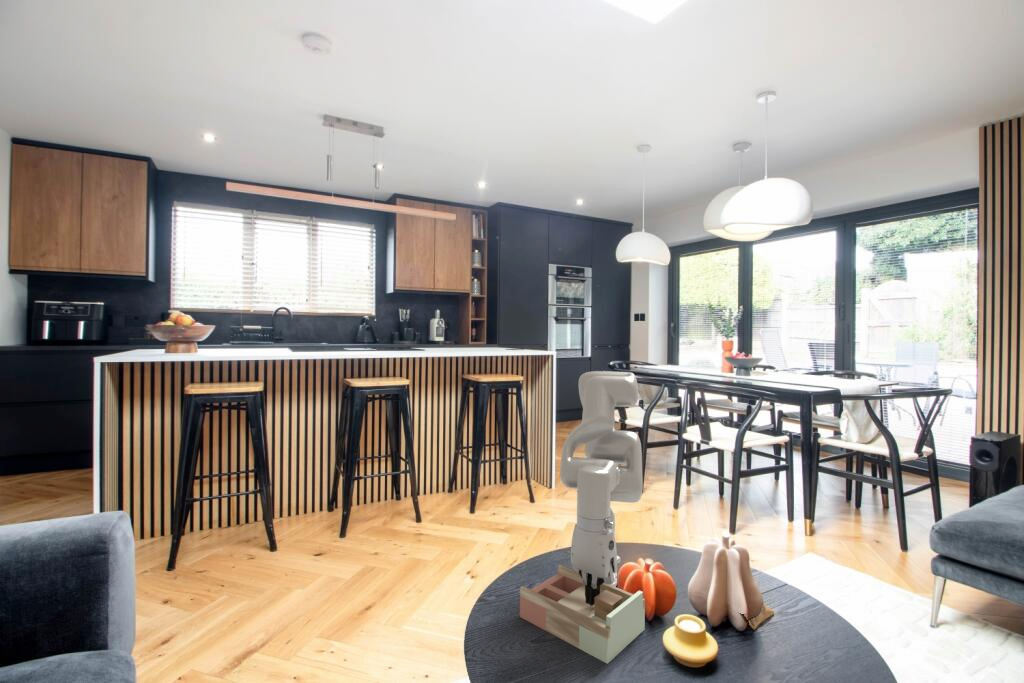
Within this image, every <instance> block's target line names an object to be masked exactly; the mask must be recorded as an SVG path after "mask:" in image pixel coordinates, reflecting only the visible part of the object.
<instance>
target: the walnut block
mask: <svg viewBox="0 0 1024 683" xmlns="http://www.w3.org/2000/svg"><path fill="white" fill-rule="evenodd" d="M622 603H623V597H621V596H619V595H617V594H614V593H612V592H610V591H607V590H605V591H603V592H602V593H600V594H599V595H597V596H596V597H595V604H594V615H595V616H597V617H599V618H601V619H603V620H605V621H606V616H607V615H608V614H610V613H611V612H612V611H613V610H615V609H616V608H617V607H618V606H620V605H621V604H622Z"/></svg>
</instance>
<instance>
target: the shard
mask: <svg viewBox="0 0 1024 683" xmlns="http://www.w3.org/2000/svg"><path fill="white" fill-rule="evenodd" d="M774 614H775V611H774V610H773V609H771V608H770V607H769V606H767V605H766V604H763V609H762V611H761V613H760V614H759V615H758V616H757V617H756V618H753V619H751V620H749V624H748V625H749V626H750V627H751V629H753V630H756V629H757V628H758V627H759V626H760V625H761V624H762V623H763V622H764V621H766V620H767V619H768V618H770V617H772V616H773V615H774Z"/></svg>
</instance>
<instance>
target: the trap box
mask: <svg viewBox="0 0 1024 683" xmlns="http://www.w3.org/2000/svg"><path fill="white" fill-rule="evenodd" d="M557 569H558V570H557V574H555V575H553V576H552V577H549V578H548V579H546V580H544V581H543V582H541V583H540V584H538V585H536V586H535V587H533V588H531V589H530V588H528V587H526V586H524V585H521V586H519V618H520V619H523V620H525V621H527V622H529V623H531V624H532V625H534V626H536V627H538V628H540V629H542V630H544V631H545V632H548V633H549V634H551V635H553V636H555V637H557V638H558V639H560V640H562V641H564V642H567V643H568V644H570V645H572V646H573V647H575V648H577V649H578V650H581V651H583V652H584V653H586V654H588V655H590V656H593V657H594V658H596V659H598V660H599V661H601V662H603V663H605V664H606V665H607V664H609V663H610V662H611V661H613V660H614V659H615V657H617V656H618V655H619V654H620V653H621V652H622V651H623V650H625V649H626V647H627V646H628V645H629V644H631V643H632V642H633V641H634V640H635V639H636V638H638V636H639V635H640V634H642V633H643V631H645V629H646V628H645V626H646V625H645V624H646V622H645V621H646V619H645V618H646V616H645V615H646V598H644V591H641V590H638V591H636V592H635V593H631V592H628V591H627V590H624V589H622V588H619V587H618V586H617V587H614V586H612V585H609V584H604V583H603V584H602V585H600V593H602V592H603V591H605V590H607V591H610V592H612V593H614V594H617V595H619V596H621V597H623V603H622V604H621V605H620V606H618V607H617V608H616V609H615V610H613V611H612V612H611V613H610V614H608V615H607V616H606V621H605V620H603V619H601V618H599V617H597V616H595V615H594V605H592V606H591V605H589V604H587V603H586V602H585V599H586V597H585V585H584V584H583V580H582V578H581V576H580V574H579V573H578V572H576V571H575V570H573V568H569V567H567V566H565V565H563V564H559V565H558V567H557Z"/></svg>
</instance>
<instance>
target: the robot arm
mask: <svg viewBox="0 0 1024 683" xmlns="http://www.w3.org/2000/svg"><path fill="white" fill-rule="evenodd" d="M638 386H639V384H638V380H637V377H636V375H635V374H634V373H633V372H630V371H605V370H603V371H602V370H601V371H599V370H595V371H594V370H593V371H587V372H584V373H582V374H580V376H579V379H578V394H579V399H580V403H581V405H582V415H581V416H582V419H581V423H580V424H578V425H577V426H576V427H574V428H573V430H571V432H570V433H569V434H568V435H567V437H566V439H565V441H564V443H563V445H562V450H561V458H560V467H559V468H560V469H559V473H560V474H559V478H560V481H561V484H562V485H563V486H564V487H565V488H568V489H574V490H576V523H575V524H574V528H573V532H572V537H571V544H570V545H571V548H570V560H571V562H570V563H571V567H572V568H571V569H573V570H575V571H576V572H578V573H579V574H580V576H581V578H582V580H583V584H584V585H585V597H586V599H585V602H586V603H587V604H589V605H591V606H592V605H594V604H595V597H596V596H597V595H599V594H600V585H602V584H603V583H604V584H609V585H612V586H614V587H616V584H617V573H618V572H617V571H618V564H620V563H621V562H622V559H621V556H619V555H618V553H617V544H616V541H617V540H616V517H615V513H614V511H613V509H612V508H611V502H618V503H629V504H630V503H633V504H634V503H637V502H639V501H640V500H641V499H642V496H643V489H644V488H643V485H644V483H643V482H644V481H643V455H642V454H643V451H642V443H641V439H640V437H639V435H638V434H637V433H636V432H634V431H631V430H621V429H620V430H618V429H617V430H616V429H615V428H616V427H615V425H616V416H615V413H616V412H615V408H616V407H620V408H622V407H626V408H633V407H635V406H636V404H637V401H638V398H639V397H638V396H639V387H638ZM583 445H584V454H585V457H579V456H578V457H577V456H576V457H575V456H574V453H575V451H576V450H577V449H579V447H581V446H583Z"/></svg>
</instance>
